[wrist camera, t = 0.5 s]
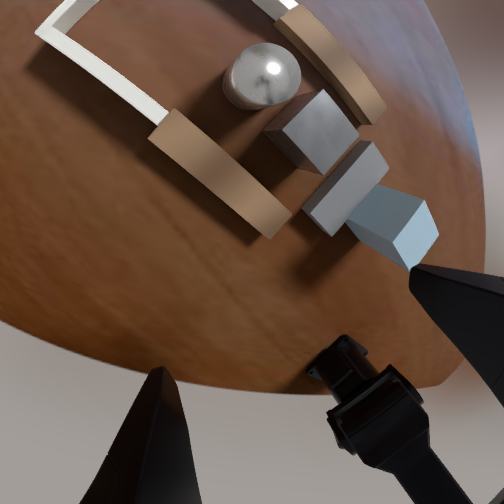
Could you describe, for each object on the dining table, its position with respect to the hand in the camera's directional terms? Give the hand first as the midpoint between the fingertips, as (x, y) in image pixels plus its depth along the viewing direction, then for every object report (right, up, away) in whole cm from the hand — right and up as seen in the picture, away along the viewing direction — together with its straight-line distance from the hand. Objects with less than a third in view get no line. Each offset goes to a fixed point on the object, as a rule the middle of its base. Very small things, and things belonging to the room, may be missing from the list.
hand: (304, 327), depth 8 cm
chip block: (+2, +11, +11) cm, 16 cm away
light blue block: (+7, +7, +14) cm, 17 cm away
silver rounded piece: (-2, +14, +8) cm, 16 cm away
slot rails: (0, +12, +10) cm, 16 cm away
